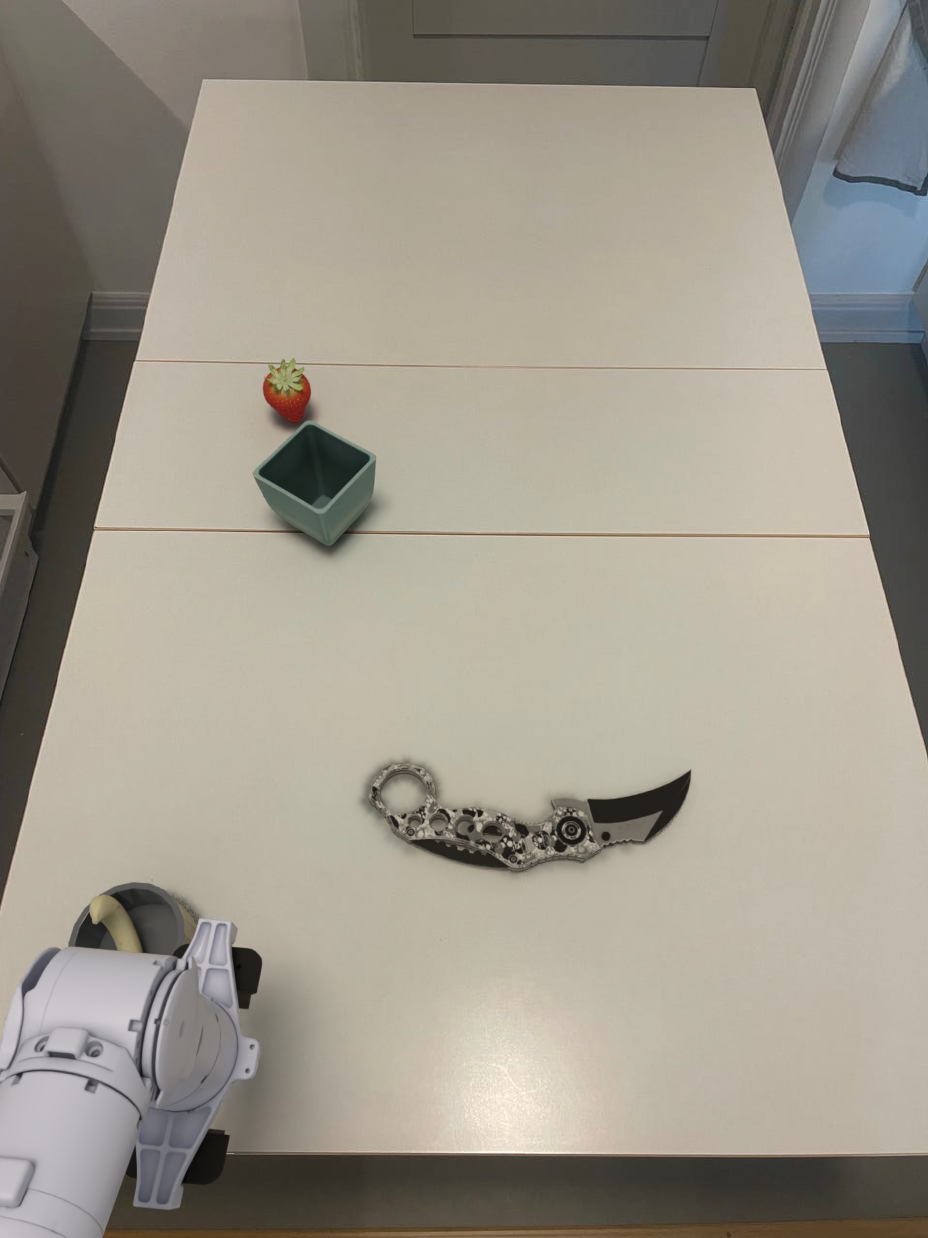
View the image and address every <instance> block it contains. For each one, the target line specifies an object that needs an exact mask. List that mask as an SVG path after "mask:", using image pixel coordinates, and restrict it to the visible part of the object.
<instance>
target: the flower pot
mask: <svg viewBox="0 0 928 1238" xmlns="http://www.w3.org/2000/svg"><path fill="white" fill-rule="evenodd" d="M376 465H377V455H375V454H374V453H373V452H371V451H369V450H367V449H366V448H363V447H362V446H360V445H359V444H356V443H354V442H352V441H350V440H348V439H346V438H345V437H343V436H341V435H339V434H337V433H335V432H334V431H331V430H329V429H328V428H326V427H325V426H323V425H321V424H319V423H318V422H315V421H313V420H306V421H304V422H303V423H302V424H301V425H300V426H298V428H297V429H296V430H295V431H294V432H293V433H291V435H290V436H289V437H288V438H286V440H285V441H284V442H282V444H280V446H278V447H277V448H276V449H275V450H274V451H273V452H272V453H271V454H270V455H268V457H267V458H266V459H265V460H263V461H262V462H261V463H260V464H259V465H258V466H257V467H256V468H255V469H254V470H253V472H252V476H253V478H254V480H255V482H256V484H257V486H258V488H259V490H260V492H261V495H262V496H263V498H264V500H265V502H266V503H267V505H268V506H269V507H270V509H271V510H272V511H273V512H274V514H276V516H278V517H279V518H280V519H282V520H283V521H285V522H286V523H288V524H289V525H291V526H292V527H294V528H295V529H297V530H299V531H301V532H303V533H304V534H306V535H308V536H309V537H311V538H313V539H315V540H316V541H317V542H319V543H321V544H322V545H324V546H327V547H330V546H332V545H334V544H335V543H336V542H337V540H339V538H340V537H342V535H343V534H344V533H345V532H346V531H347V530H348V529H349V528H350V527H351V525H352V524H354V522H355V521H356V520H357V519H358V518H359V517H360V516H361V514H363V512H364V511H365V510H366V509H367V506H368V505H369V503H370V502H371V499H372V496H373V493H374V489H375V481H376V468H377V467H376Z"/></svg>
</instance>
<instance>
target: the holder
mask: <svg viewBox="0 0 928 1238" xmlns="http://www.w3.org/2000/svg"><path fill="white" fill-rule="evenodd" d="M100 895H108V896H111V897H113V898H114V899H116V900H117V901H118V902H119V903H120V904H121V905H122V906H123V907H124V909H125V910H126V912H127V913H128V915H129V917H130V918H131V920H132V922H133V925H134V927H135V929H136V931H137V934H138V936H139V939H140V942H141V945H142V949H143V953H148V954H158V955H169V956H172V955H173V953H174V952H175V950H176V949H177V948H178V947H180V946H182V945H184V944H190V943H191V941H192V939H193V937H194V934H195V931H196V928H197V924H198V923H197V922H196V921H195V918H193V916H192V915H191V913H190V912H188V911H187V909H186V908H185V907H184V906H182V904H180V903H179V901H177V899H176V898H174V897H173V896H172V895H171V894H170V893H169V892H168V891H167V890H165V889H163V888H161V887H160V886H157V885H155V884H153V883H149V882H139V881H132V882H127V883H123V884H118V885H115V886H112V887H111V888H109V889H107V890H105V891H103V892H102V893H100V894H98V895H97V896H100ZM67 946H68V947H82V948H93V949H104V950H115V951H117V948H116V945H115V942H114V940H113V938H112V936H111V934H110V932H109V930H108V929H107V927H106V926H105V925H104V924H103V923H102V922H101V921H100V922H99V923H98V924H93V922H92V918H91V916H90V903H88V904H87V905H86V907H84V908H83V910H82V911H81V913H80V915H79V916H78V918H77V920H76V921H75V923H74V924H73V927H72V930H71V934H70V937H69V941H68V945H67Z"/></svg>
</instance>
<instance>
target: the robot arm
mask: <svg viewBox="0 0 928 1238" xmlns="http://www.w3.org/2000/svg"><path fill="white" fill-rule="evenodd" d="M196 924H197V928H196V931H195V934H194V937H193V939H192V941H191V943H190V944H184V945H182V946H180V947H178V948H177V949H176V950H175V952H174V953H173V955H172V956H169V955H158V954H148V953H137V952H126V951H115V950H104V949H93V948H82V947H64V948H62V949H61V948H60V947H58V946H50V947H48V948H46V949H44V950H43V951H41V952H40V953H39V954H37V956H35V958H34V959H33V960H32V962H31V963H30V964H29V966H28V968H27V969H26V971H25V973H24V974H23V976H22V977H21V979H20V980H19V982H18V984H17V985H16V987H15V989H14V992H13V995H12V997H11V1000H10V1003H9V1005H8V1009H7V1013H6V1017H5V1021H4V1024H3V1030H2V1035H1V1041H0V1238H103V1236H104V1234H105V1232H106V1228H107V1225H108V1224H109V1220H110V1217H111V1215H112V1212H113V1209H114V1206H115V1203H116V1200H117V1198H118V1195H119V1191H120V1189H121V1186H122V1184H123V1180H124V1179H125V1175H126V1176H128V1177H129V1178H131V1179H136V1184H135V1192H134V1197H133V1202H132V1206H133V1207H135V1208H146V1209H157V1210H165V1211H170V1210H175V1209H180V1207H181V1204H182V1199H183V1194H184V1185H183V1184H185V1185H186V1184H187V1185H199V1186H207V1185H210V1184H213V1183H215V1182H216V1181H218V1180H220V1178H221V1176H222V1174H223V1171H224V1168H225V1164H226V1159H227V1153H228V1147H229V1143H230V1135H231V1134H226V1130H225V1129H217V1128H211V1126H212V1124H213V1121H214V1120H215V1118H216V1116H217V1115H218V1112H219V1110H220V1108H221V1107H222V1105H223V1103H224V1101H225V1099H226V1097H227V1096H228V1093H229V1092H230V1091H231V1088H232V1086H233V1085H234V1083H236V1082H237V1081H251V1080H252V1079H254V1078H255V1077H256V1075H257V1072H258V1067H259V1062H260V1056H261V1049H262V1048H261V1043H260V1042H259V1040H257V1039H255V1038H253V1037H246V1036H245V1035H244V1034H243V1028H242V1020H241V1014H240V1013H241V1012H240V1010H249V1009H250V1004H251V999H252V996H254V995H256V994H257V993H258V990H259V985H260V980H261V974H262V969H263V958H262V956H261V955H260V954H259V953H258V952H257V951H256V950H254V949H253V948H249V947H242V946H234V944H235V943H236V938H237V934H238V929H239V928H238V927H237V925H236V924H234V922H233V921H232V920H228V919H215V918H205V917H199V918H198V921H197V923H196Z"/></svg>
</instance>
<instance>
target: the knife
mask: <svg viewBox="0 0 928 1238" xmlns="http://www.w3.org/2000/svg"><path fill="white" fill-rule="evenodd" d="M398 774H411V775H413V776H415V777H417V778H418V779H419V780H420V781H421V782H422V784H424V788H425V796H424V799H423V801H422V803H421V804H419V806H418V807H416V808H415V809H413V810H411V811H408V812H396V811H393V810H392V809H389V808H388V807H387V806H386V805H385V804H384V802H383V801H382V798H381V792H382V788H383V786H384V784H385V782H386V781H387V780H388V779H389V778H391V777H393V776H395V775H398ZM691 782H692V768H690V769H689V770H687V771H685V772H683V773H681V774H680V775H678V776H677V777H675V778H673V779H671V780H670V781H667V782H664V783H662V784H660V785H657V786H654V787H652V788H650V789H646V790H641V791H638V792H637V791H636V792H634V793H629V794H625V795H620V796H617V797H616V796H615V797H588V798H586V799H585V800H581V799H579V798H577V797H571V796H569V797H568V796H557V797H554V798H552V799H551V800H550V802H551V804H552V806H553V809H554V811H553V813H552V814H550V815H548V817H547V818H546V819H544V821H543V820H542V821H541V822H537V823H536V822H533V823H531V822H524V821H521V820H519V819H516V818H515V817H511V816H509V815H506V814H505V813H503V812H500V811H498V810H495V809H490V808H487V807H486V808H485V807H481V806H479V807H477V806H476V807H475V806H473V807H472V806H471V807H447V806H444V805H443V804H441V803H440V802H439V801H438V799H437V797H436V796H437V795H436V785H435V783H434V779H433V777H432V776H431V775H430V773H429V772H428V771H427V770H426V769H424V768H423V766H419V765H417V764H415V763H409V762H397V763H393V764H390V765H388V766H385V767H384V768H382V769H380V771H379V772H378V773H377V774H376V775H375V777H374V778H373V780H372V781H371V783H370V787H369V791H368V799H369V803H370V804H371V805H372V806H373V807H374V808H376V809H377V810H378V811H379V812H380V813H381V814H382V816H383V817H384V818H385V819H386V821H387V823H388V824H389V826H390V829H391V831H392V832H393V833H394V834H396V835H397V836H398V837H400V838H401V839H403V840H404V841H406V842H407V843H409V844H411V843H412V844H414V845H416V846H418V847H420V848H421V849H424V850H426V851H428V852H430V853H433V854H436V855H438V856H442V857H444V858H447V859H450V860H452V861H453V860H454V861H456V862H459V863H460V862H461V863H464V864H470V865H474V866H479V867H485V868H486V867H487V868H499V869H500V868H501V869H502V868H504V869H509V870H510V871H515V872H520V871H525V870H527V869H529V868H530V867H534V866H535V865H537V864H541V863H543V862H545V861H551V860H559V859H568V860H574V859H575V860H577V861H582V862H584V861H586V860H588V859H589V858H591V857H592V856H594V855H596V854H597V853H599V852H600V851H601V850H602V848H603V847H604V846H609V844H612V845H615V844H616V843H617V842H618V843H622V842H623V841H624V842H629V841H632V842H642V843H647V842H648V841H649V840H651V839H652V838H653V837H655V836H656V835H658V834H659V833H660V832H661V831H662V830H663V829H664V828H666V827H667V826H668V825H669V824H670V823H671V821H673V819H674V818H675V817H676V816H677V814H678V813H679V811H680V810H681V808H682V806H683V804H684V802H685V801H686V798H687V795H688V793H689V790H690V785H691ZM434 819H442V820H444V822H445V824H446V825H445V827H443V829H441V830H435V829H433V827H432V826H431V824H432V822H433V820H434ZM412 820H418V821H419V822H420V824H419V826H416V827H413V826H411V825H410V822H411V821H412ZM464 820H465V821H469V822H471V823H472V824H469V825H467V827H466V830H467V833H468V834H463V833H461V832H459V830H458V829H457V825H458V824H459V822H461V821H464ZM498 829H499V830H500V831H498ZM484 835H491V836H501V837H500V838H499V839H498V840H495V841H489V840H488V839H486V838H485V836H484ZM447 844H451V845H447ZM458 846H463V847H465V848H463V849H462V850H461V849H459V848H458ZM470 849H472V850H475V851H473V852H470Z"/></svg>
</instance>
